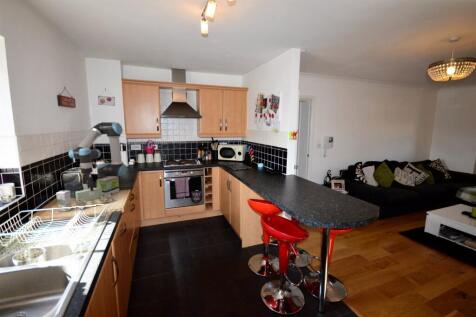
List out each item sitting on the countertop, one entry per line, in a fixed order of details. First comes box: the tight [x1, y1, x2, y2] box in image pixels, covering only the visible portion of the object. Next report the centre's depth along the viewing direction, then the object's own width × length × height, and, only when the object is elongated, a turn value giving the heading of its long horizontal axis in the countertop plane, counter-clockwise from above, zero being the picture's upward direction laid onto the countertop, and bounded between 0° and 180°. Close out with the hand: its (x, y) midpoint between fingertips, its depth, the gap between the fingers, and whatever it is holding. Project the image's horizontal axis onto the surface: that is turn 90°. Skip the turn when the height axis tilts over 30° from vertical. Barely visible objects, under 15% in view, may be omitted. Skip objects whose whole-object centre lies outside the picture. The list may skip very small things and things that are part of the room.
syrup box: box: [55, 190, 73, 213], centre depth 155 cm, size 6×6×14 cm
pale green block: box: [75, 186, 102, 202], centre depth 174 cm, size 17×5×10 cm, turn 142°
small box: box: [63, 181, 84, 199], centre depth 186 cm, size 13×7×12 cm, turn 72°
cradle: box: [74, 193, 113, 211], centre depth 168 cm, size 22×12×6 cm, turn 142°
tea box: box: [96, 176, 120, 196], centre depth 194 cm, size 15×10×15 cm, turn 168°
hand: (88, 193), depth 173 cm, fingers open, 13 cm apart
